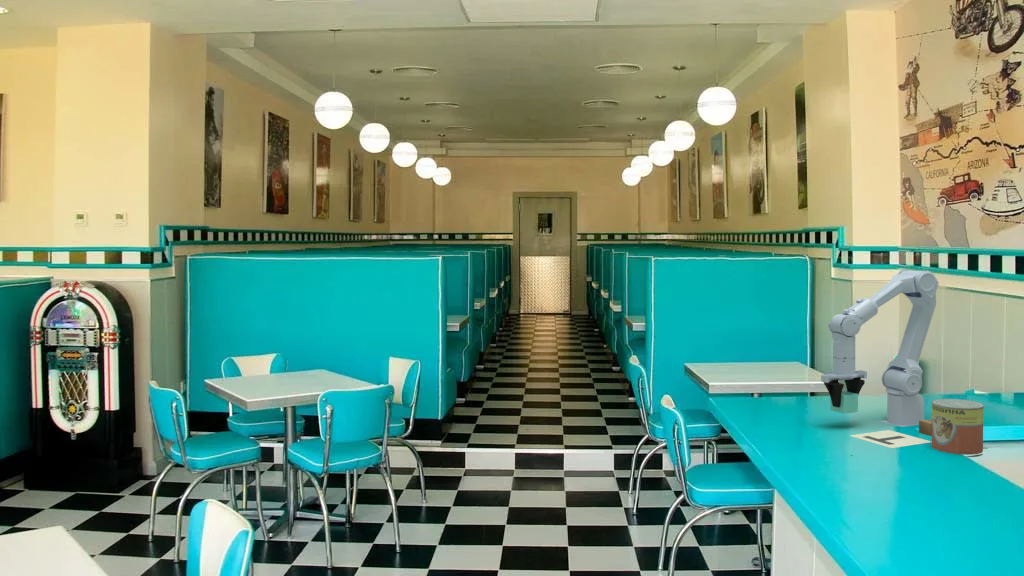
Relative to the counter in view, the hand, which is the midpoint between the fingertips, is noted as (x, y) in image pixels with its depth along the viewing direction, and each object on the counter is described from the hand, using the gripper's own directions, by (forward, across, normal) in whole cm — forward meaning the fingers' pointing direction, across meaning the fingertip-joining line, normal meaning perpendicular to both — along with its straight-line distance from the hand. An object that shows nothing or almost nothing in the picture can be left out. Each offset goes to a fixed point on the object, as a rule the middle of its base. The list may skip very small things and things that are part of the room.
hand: (844, 405), depth 218 cm
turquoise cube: (+2, 0, 0) cm, 2 cm away
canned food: (+7, +8, -29) cm, 31 cm away
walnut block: (+5, +12, -15) cm, 20 cm away
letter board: (+7, +1, -15) cm, 16 cm away
